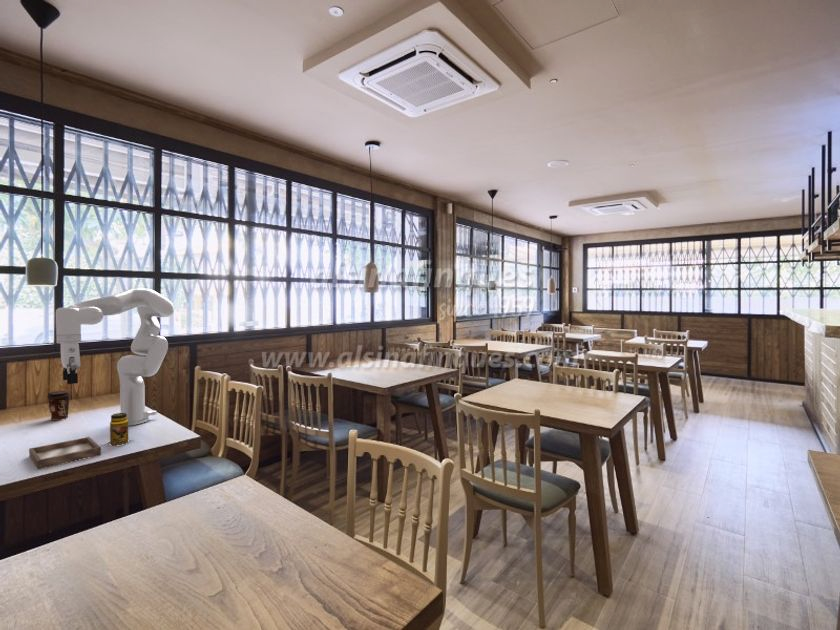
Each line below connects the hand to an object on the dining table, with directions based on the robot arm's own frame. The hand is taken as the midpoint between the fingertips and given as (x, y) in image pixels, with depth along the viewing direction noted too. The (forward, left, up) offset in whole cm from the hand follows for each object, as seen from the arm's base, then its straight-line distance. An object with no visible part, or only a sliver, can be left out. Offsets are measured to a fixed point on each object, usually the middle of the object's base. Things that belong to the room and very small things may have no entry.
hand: (70, 381), depth 171 cm
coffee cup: (-4, -46, -26) cm, 53 cm away
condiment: (-13, +11, -26) cm, 31 cm away
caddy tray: (+4, +13, -26) cm, 29 cm away
